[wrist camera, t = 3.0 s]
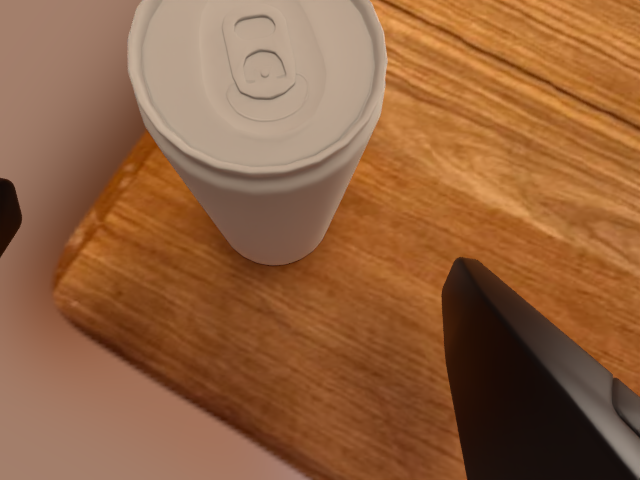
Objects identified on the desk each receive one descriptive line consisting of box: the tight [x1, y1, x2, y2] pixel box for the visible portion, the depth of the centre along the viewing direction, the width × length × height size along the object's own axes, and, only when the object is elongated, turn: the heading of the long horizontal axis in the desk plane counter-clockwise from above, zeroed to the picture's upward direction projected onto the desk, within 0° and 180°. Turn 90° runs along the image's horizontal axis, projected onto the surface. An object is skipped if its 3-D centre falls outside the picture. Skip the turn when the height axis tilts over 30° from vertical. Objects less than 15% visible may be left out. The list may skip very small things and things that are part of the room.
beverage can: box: [127, 0, 387, 265], centre depth 14 cm, size 5×5×12 cm
